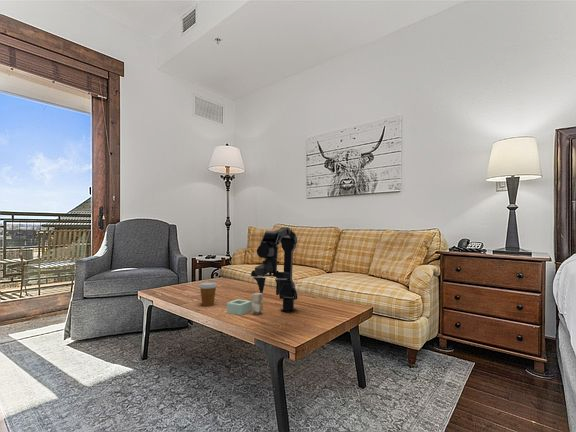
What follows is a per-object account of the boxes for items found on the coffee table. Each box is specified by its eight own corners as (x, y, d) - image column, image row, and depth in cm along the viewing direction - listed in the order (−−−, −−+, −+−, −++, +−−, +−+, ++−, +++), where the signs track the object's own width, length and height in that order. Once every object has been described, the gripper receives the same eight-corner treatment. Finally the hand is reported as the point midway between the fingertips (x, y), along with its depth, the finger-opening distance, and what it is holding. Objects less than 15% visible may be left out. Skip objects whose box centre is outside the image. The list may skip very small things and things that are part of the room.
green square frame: (237, 308, 166) (237, 299, 166) (251, 310, 161) (251, 301, 161) (226, 312, 158) (226, 302, 158) (240, 315, 153) (240, 305, 153)
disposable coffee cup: (205, 302, 179) (205, 281, 179) (219, 303, 176) (219, 282, 177) (195, 306, 170) (196, 284, 170) (211, 307, 167) (211, 285, 167)
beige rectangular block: (256, 312, 159) (256, 292, 159) (262, 313, 157) (262, 293, 157) (251, 314, 155) (251, 294, 156) (258, 315, 153) (258, 295, 154)
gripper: (243, 257, 137) (241, 293, 135) (276, 258, 126) (273, 297, 124) (260, 258, 146) (258, 292, 144) (291, 259, 135) (290, 296, 133)
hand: (269, 294), depth 136 cm, fingers open, 9 cm apart
